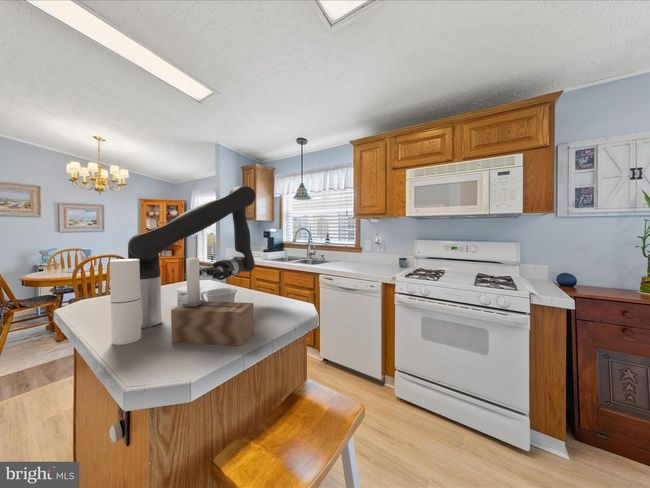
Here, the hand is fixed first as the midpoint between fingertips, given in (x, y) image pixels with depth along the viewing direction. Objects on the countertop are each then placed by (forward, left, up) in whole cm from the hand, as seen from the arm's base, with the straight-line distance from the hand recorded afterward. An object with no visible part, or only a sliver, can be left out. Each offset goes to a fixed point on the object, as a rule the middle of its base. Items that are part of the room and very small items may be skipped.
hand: (201, 275), depth 84 cm
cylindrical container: (-19, -10, -19) cm, 29 cm away
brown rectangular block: (+7, -5, -19) cm, 21 cm away
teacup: (-3, +15, -19) cm, 25 cm away
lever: (0, -5, -9) cm, 10 cm away
